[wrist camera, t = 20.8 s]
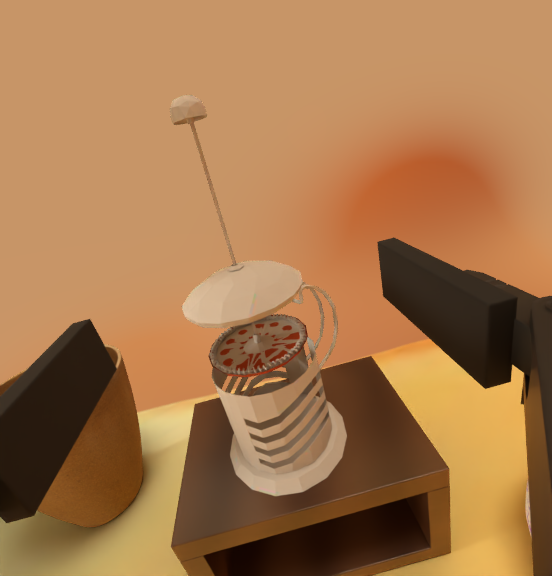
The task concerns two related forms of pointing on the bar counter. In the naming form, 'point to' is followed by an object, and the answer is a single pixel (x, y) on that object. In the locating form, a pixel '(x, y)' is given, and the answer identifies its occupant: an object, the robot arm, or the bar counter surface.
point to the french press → (265, 364)
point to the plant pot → (99, 458)
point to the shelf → (318, 494)
